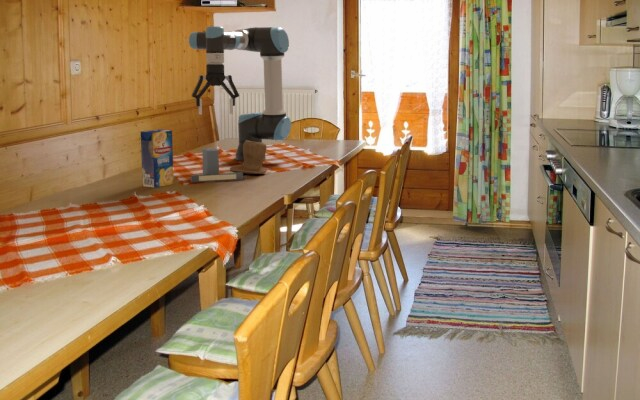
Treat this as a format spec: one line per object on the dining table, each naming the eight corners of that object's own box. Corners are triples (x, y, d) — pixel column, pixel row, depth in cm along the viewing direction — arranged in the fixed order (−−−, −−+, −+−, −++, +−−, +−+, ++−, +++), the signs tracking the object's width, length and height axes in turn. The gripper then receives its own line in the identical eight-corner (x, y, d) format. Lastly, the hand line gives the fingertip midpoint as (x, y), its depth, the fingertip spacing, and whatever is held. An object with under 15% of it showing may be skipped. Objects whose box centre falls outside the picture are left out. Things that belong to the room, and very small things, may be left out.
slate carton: (202, 175, 340) (202, 148, 338) (214, 174, 342) (214, 147, 340) (207, 178, 332) (207, 150, 330) (219, 178, 334) (219, 150, 332)
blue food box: (173, 183, 319) (172, 130, 315) (154, 187, 310) (152, 132, 306) (161, 182, 323) (159, 129, 318) (142, 185, 314) (140, 131, 309)
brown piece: (271, 173, 348) (271, 139, 345) (258, 177, 338) (258, 142, 335) (242, 170, 355) (242, 137, 352) (228, 174, 344) (228, 140, 341)
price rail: (191, 182, 323) (190, 174, 323) (242, 179, 331) (241, 172, 331) (191, 182, 322) (191, 175, 321) (243, 179, 330) (243, 172, 329)
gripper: (188, 63, 320) (189, 115, 324) (246, 64, 330) (246, 114, 334) (184, 63, 327) (185, 113, 331) (241, 63, 336) (241, 112, 340)
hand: (215, 114), depth 332 cm, fingers open, 13 cm apart
